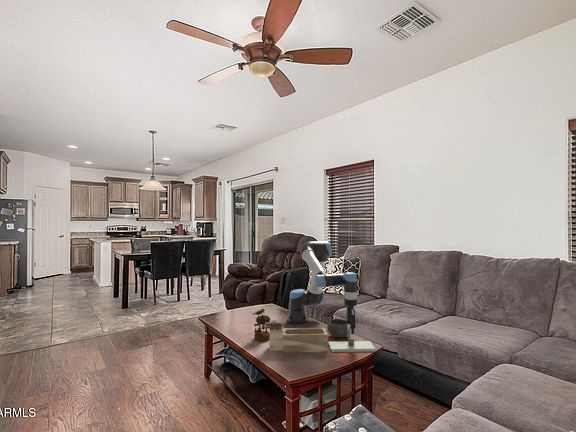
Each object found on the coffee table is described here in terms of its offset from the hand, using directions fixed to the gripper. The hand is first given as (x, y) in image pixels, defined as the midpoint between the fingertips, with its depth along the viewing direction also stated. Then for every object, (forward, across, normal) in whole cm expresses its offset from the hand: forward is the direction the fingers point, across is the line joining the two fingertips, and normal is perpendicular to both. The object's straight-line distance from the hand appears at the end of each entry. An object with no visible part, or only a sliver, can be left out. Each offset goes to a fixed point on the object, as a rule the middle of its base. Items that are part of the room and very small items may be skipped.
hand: (351, 336), depth 193 cm
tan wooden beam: (-6, 0, -47) cm, 47 cm away
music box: (+7, -17, -54) cm, 57 cm away
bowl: (+7, -19, -4) cm, 21 cm away
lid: (+7, 0, 0) cm, 7 cm away
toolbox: (+6, 0, -32) cm, 33 cm away
